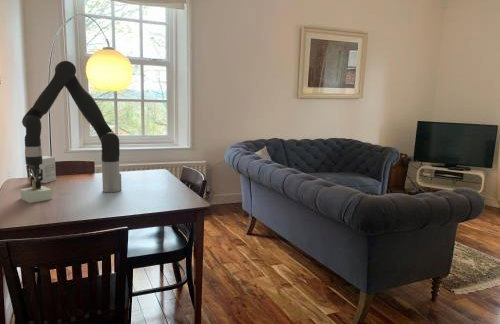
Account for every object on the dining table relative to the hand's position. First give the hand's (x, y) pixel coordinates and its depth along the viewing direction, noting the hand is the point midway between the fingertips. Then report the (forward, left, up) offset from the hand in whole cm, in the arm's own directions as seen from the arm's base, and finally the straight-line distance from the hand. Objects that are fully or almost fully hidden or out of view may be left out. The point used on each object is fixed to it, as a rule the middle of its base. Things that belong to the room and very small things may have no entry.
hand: (35, 187), depth 196 cm
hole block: (0, 0, -6) cm, 6 cm away
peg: (0, 0, -6) cm, 6 cm away
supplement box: (-19, -38, -6) cm, 43 cm away
